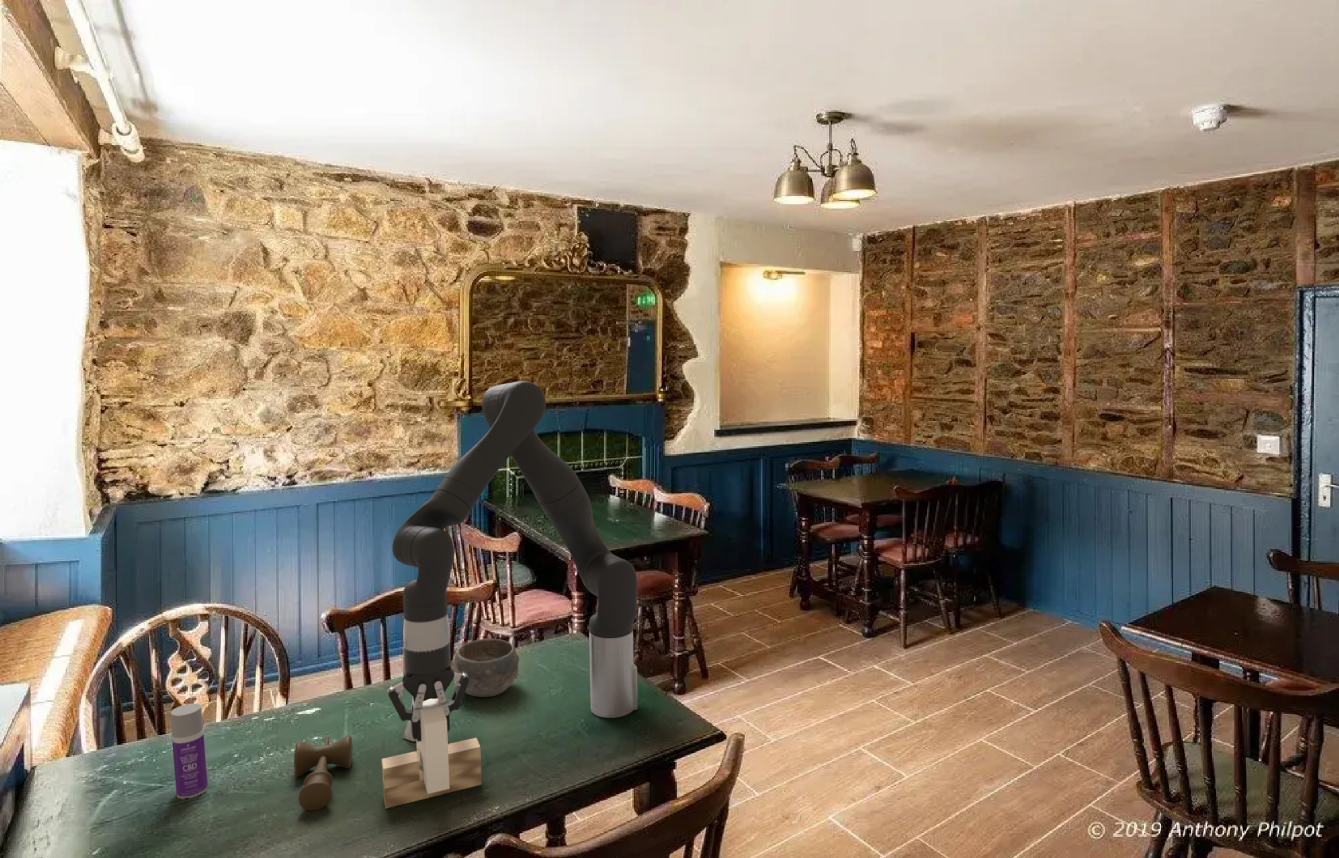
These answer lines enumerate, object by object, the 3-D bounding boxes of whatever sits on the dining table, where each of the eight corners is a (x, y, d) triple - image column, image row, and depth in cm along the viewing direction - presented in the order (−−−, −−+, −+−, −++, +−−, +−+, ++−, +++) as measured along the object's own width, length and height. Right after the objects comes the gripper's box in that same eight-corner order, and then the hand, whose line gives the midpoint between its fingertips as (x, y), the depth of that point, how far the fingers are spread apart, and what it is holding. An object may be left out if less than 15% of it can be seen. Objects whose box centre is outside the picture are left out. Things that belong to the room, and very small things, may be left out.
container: (184, 802, 128) (178, 718, 127) (171, 793, 131) (164, 711, 129) (213, 788, 132) (207, 707, 131) (199, 780, 135) (193, 700, 133)
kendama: (283, 820, 124) (300, 755, 143) (346, 810, 127) (355, 748, 146) (282, 786, 123) (299, 725, 142) (345, 777, 126) (354, 718, 145)
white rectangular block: (416, 753, 136) (414, 689, 135) (436, 748, 138) (434, 685, 136) (427, 794, 124) (424, 724, 122) (449, 788, 125) (446, 719, 124)
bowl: (467, 676, 177) (466, 635, 176) (530, 679, 175) (529, 638, 174) (441, 704, 163) (440, 659, 162) (510, 708, 161) (508, 663, 160)
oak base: (477, 774, 136) (476, 737, 135) (481, 784, 133) (480, 746, 132) (383, 797, 129) (381, 758, 128) (385, 808, 126) (383, 768, 125)
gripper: (465, 626, 135) (468, 718, 136) (381, 640, 129) (385, 736, 130) (473, 641, 128) (476, 737, 130) (384, 656, 122) (389, 756, 124)
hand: (430, 736), depth 130 cm, fingers closed on white rectangular block, 3 cm apart
